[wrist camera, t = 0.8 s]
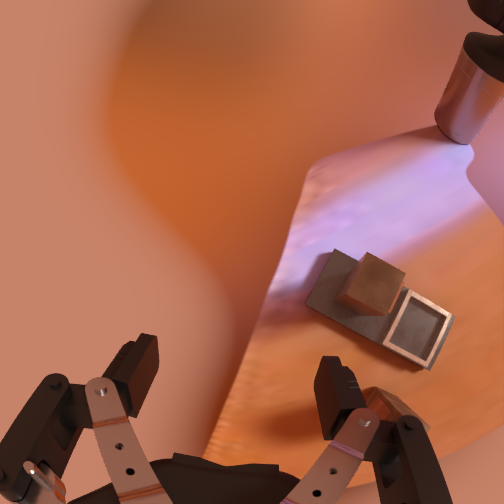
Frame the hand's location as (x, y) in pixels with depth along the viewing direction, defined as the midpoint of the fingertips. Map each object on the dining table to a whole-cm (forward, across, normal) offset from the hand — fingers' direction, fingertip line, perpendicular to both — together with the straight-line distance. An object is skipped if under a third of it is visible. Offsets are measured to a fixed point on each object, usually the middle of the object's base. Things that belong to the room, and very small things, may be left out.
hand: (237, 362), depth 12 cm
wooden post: (+13, -19, +18) cm, 29 cm away
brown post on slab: (+19, -18, +6) cm, 27 cm away
